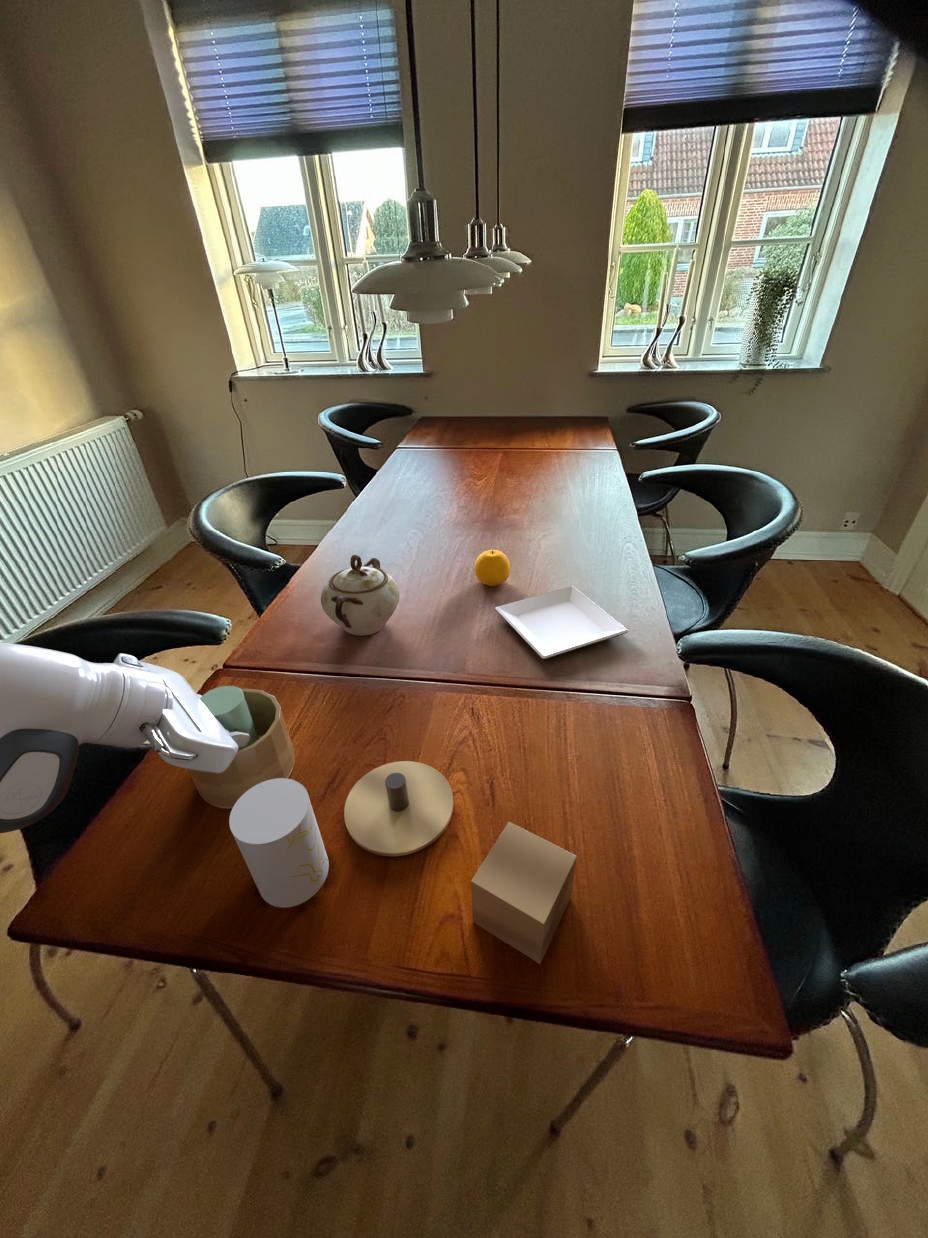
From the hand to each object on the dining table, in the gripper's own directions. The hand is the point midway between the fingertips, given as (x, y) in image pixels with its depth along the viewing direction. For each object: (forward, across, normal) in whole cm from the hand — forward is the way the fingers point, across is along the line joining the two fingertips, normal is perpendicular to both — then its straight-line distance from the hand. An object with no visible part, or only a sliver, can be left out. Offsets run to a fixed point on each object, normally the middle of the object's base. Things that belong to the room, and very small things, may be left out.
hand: (234, 724), depth 72 cm
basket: (+6, 0, +6) cm, 8 cm away
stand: (+15, -41, -3) cm, 44 cm away
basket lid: (+13, -21, -2) cm, 25 cm away
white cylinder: (+4, -19, +9) cm, 21 cm away
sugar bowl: (+29, +19, -17) cm, 39 cm away
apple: (+50, +12, -38) cm, 64 cm away
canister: (+4, 0, +5) cm, 6 cm away
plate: (+48, -10, -36) cm, 60 cm away
